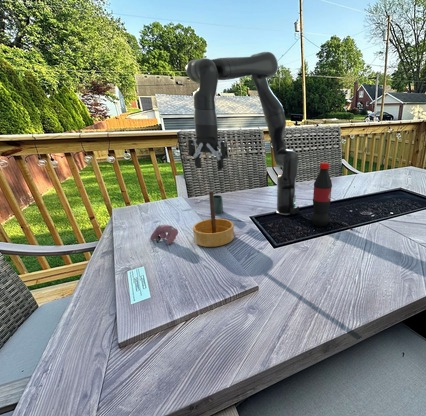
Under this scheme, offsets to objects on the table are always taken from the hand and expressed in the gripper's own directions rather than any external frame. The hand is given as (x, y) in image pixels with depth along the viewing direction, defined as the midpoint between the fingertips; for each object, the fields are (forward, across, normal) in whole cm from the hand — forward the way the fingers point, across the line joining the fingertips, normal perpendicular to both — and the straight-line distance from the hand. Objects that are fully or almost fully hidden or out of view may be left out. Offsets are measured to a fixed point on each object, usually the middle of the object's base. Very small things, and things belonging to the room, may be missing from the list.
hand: (209, 168), depth 97 cm
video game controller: (+29, +18, +6) cm, 35 cm away
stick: (+28, 0, 0) cm, 28 cm away
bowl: (+29, 0, 0) cm, 29 cm away
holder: (+29, +13, -27) cm, 42 cm away
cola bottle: (+29, -40, -28) cm, 57 cm away
